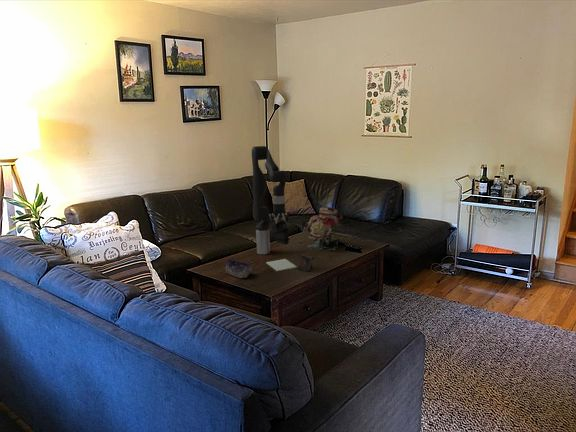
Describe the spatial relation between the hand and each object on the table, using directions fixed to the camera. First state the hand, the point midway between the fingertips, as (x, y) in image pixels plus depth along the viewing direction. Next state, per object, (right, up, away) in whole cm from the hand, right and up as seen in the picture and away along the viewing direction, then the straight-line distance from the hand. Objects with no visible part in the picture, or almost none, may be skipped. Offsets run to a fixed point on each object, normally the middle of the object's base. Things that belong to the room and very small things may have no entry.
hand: (279, 228), depth 297 cm
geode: (-26, -29, -8) cm, 40 cm away
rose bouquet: (+31, -15, +43) cm, 56 cm away
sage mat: (+1, -24, +6) cm, 25 cm away
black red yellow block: (0, -9, +2) cm, 10 cm away
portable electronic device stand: (+17, -26, -2) cm, 31 cm away
